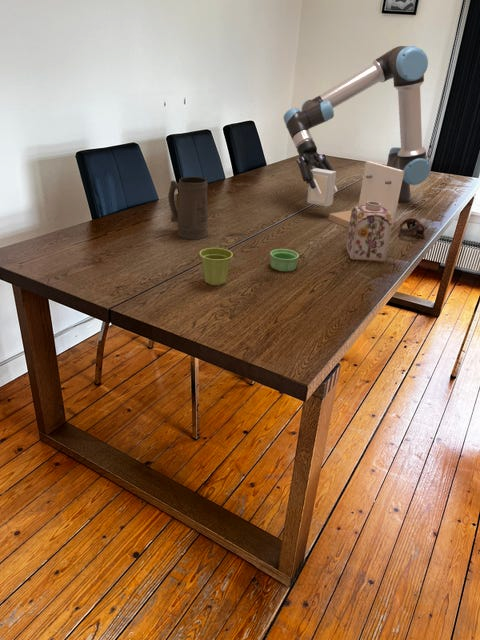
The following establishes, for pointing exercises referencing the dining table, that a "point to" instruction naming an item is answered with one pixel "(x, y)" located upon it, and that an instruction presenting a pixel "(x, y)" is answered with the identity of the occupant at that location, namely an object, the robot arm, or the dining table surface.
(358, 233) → the decorative jar
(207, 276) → the plant pot
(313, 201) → the white block
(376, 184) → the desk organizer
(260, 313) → the dining table surface
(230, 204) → the dining table surface
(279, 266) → the ramekin
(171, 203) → the beer stein
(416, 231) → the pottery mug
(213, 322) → the dining table surface
